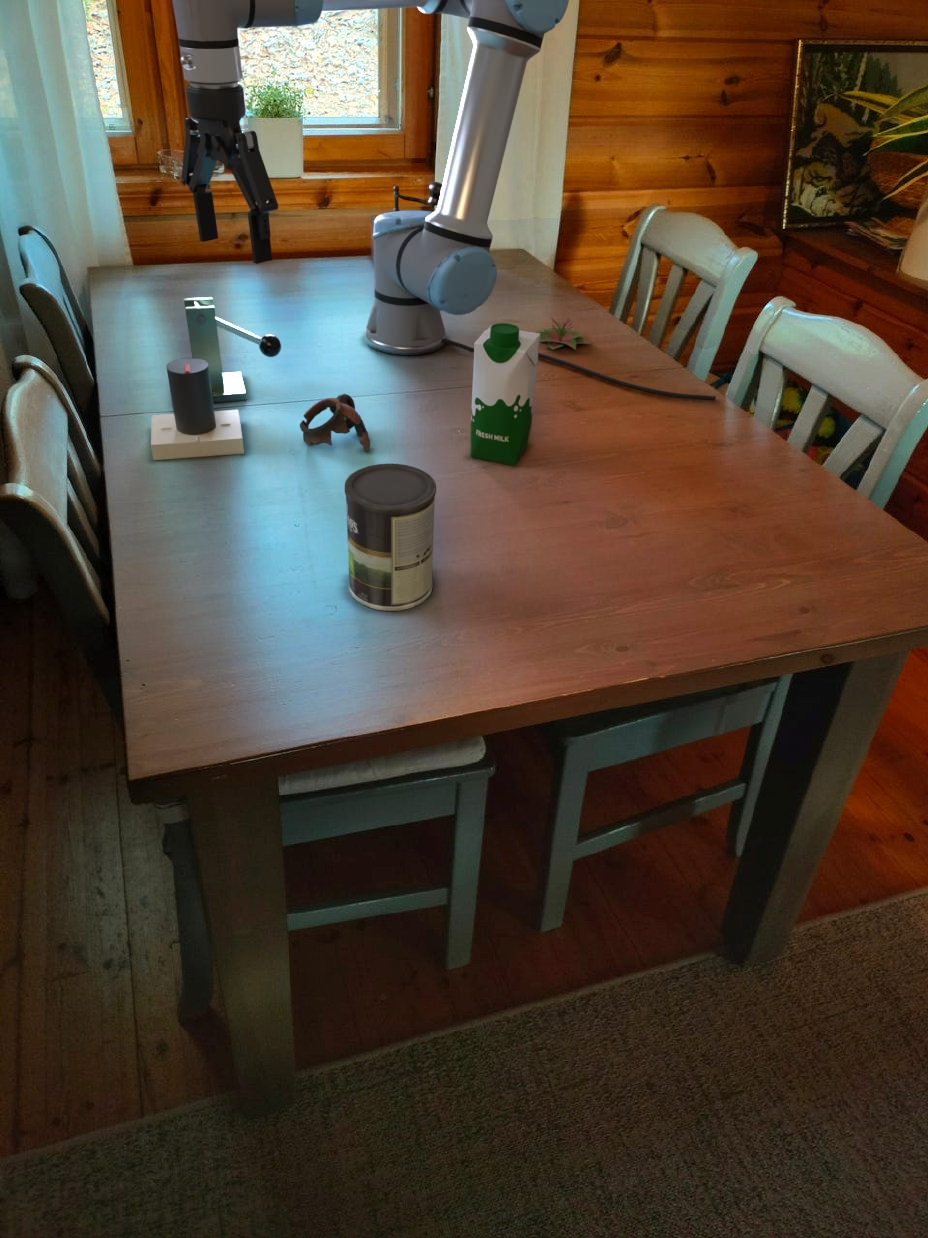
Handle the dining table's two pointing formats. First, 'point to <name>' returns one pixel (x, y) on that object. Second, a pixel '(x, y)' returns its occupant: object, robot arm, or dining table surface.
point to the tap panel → (196, 438)
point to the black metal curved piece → (433, 200)
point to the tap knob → (191, 395)
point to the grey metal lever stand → (211, 350)
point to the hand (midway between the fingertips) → (235, 250)
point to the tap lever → (252, 337)
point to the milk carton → (503, 392)
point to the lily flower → (561, 336)
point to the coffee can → (390, 535)
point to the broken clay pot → (334, 421)
